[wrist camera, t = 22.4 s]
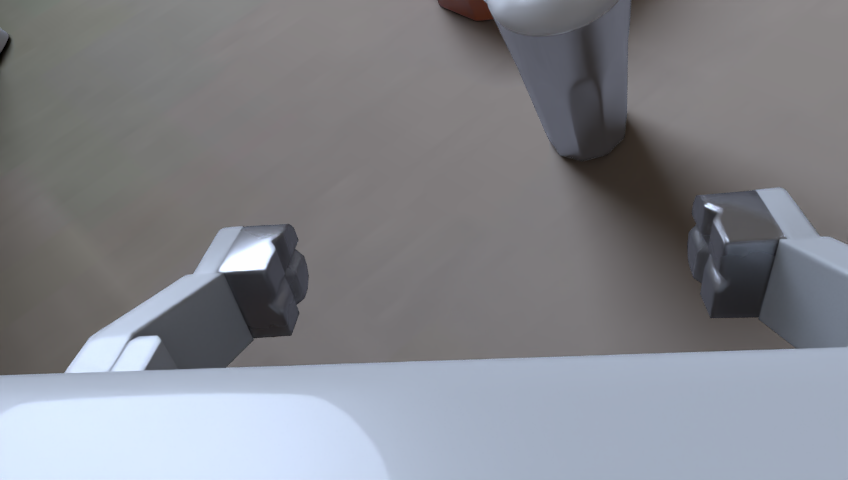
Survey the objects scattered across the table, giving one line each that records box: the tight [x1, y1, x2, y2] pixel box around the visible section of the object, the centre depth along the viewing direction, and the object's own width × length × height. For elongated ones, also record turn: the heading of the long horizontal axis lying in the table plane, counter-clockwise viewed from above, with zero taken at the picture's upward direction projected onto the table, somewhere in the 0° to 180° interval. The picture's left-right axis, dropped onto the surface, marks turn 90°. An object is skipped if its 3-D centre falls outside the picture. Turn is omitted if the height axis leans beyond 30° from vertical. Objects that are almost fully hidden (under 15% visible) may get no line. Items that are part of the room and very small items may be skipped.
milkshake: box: [483, 0, 631, 161], centre depth 21 cm, size 4×5×10 cm
